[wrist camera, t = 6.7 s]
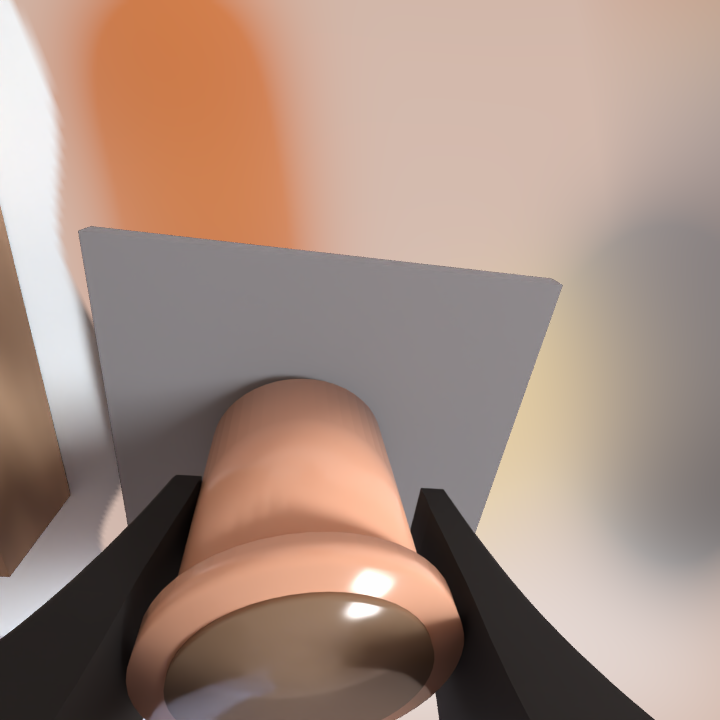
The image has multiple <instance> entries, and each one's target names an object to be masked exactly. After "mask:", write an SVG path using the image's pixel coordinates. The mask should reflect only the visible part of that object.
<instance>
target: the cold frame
mask: <svg viewBox="0 0 720 720" xmlns="http://www.w3.org/2000/svg"><path fill="white" fill-rule="evenodd" d="M69 496H70V491H69V487H68V483H67V479H66V474H65V470H64V466H63V462H62V458H61V454H60V450H59V446H58V442H57V437H56V433H55V429H54V425H53V421H52V417H51V413H50V409H49V404H48V400H47V396H46V392H45V388H44V384H43V380H42V376H41V372H40V367H39V363H38V359H37V355H36V351H35V347H34V343H33V339H32V335H31V330H30V326H29V322H28V318H27V314H26V310H25V306H24V302H23V298H22V293H21V289H20V285H19V281H18V277H17V273H16V269H15V265H14V261H13V256H12V252H11V248H10V244H9V240H8V236H7V232H6V228H5V223H4V219H3V215H2V211H1V207H0V577H10V576H11V574H12V573H13V572H14V570H15V569H16V568H17V566H18V565H19V564H20V562H21V561H22V560H23V558H24V557H25V556H26V554H27V553H28V552H29V550H30V549H31V548H32V546H33V545H34V543H35V542H36V541H37V539H38V538H39V537H40V535H41V534H42V533H43V531H44V530H45V529H46V527H47V526H48V525H49V523H50V522H51V521H52V519H53V518H54V517H55V515H56V514H57V513H58V511H59V510H60V509H61V507H62V506H63V504H64V503H65V502H66V500H67V499H68V498H69Z"/></svg>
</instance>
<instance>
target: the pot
mask: <svg viewBox="0 0 720 720" xmlns="http://www.w3.org/2000/svg"><path fill="white" fill-rule="evenodd" d="M463 646H464V631H463V627H462V622H461V619H460V616H459V614H458V611H457V608H456V605H455V602H454V599H453V596H452V594H451V591H450V588H449V586H448V584H447V582H446V580H445V578H444V577H443V576H442V574H441V573H440V572H439V571H438V569H437V568H436V567H435V566H433V565H432V564H431V563H430V562H429V561H428V560H427V559H425V558H424V557H422V556H421V555H419V554H417V552H416V548H415V545H414V542H413V538H412V535H411V532H410V528H409V525H408V522H407V518H406V515H405V512H404V508H403V505H402V502H401V498H400V495H399V492H398V488H397V485H396V482H395V478H394V475H393V472H392V468H391V465H390V462H389V458H388V455H387V452H386V448H385V445H384V442H383V438H382V435H381V432H380V428H379V425H378V422H377V420H376V418H375V416H374V414H373V413H372V411H371V410H370V408H369V407H368V406H367V405H366V404H365V403H364V402H363V401H362V400H361V399H360V398H359V397H357V396H356V395H355V394H353V393H352V392H350V391H348V390H347V389H345V388H342V387H340V386H338V385H335V384H332V383H329V382H325V381H320V380H314V379H288V380H282V381H276V382H273V383H269V384H266V385H263V386H261V387H258V388H256V389H254V390H252V391H250V392H249V393H247V394H245V395H243V396H242V397H241V398H239V399H238V400H237V401H235V402H234V403H233V404H232V405H231V406H230V407H229V408H228V409H227V411H226V412H225V413H224V415H223V416H222V417H221V419H220V421H219V423H218V425H217V427H216V430H215V433H214V436H213V440H212V443H211V447H210V451H209V455H208V459H207V463H206V467H205V471H204V475H203V479H202V483H201V487H200V491H199V495H198V499H197V503H196V507H195V510H194V514H193V518H192V522H191V526H190V530H189V534H188V538H187V542H186V546H185V550H184V554H183V558H182V562H181V566H180V570H179V573H178V577H176V578H175V579H174V580H173V581H172V582H171V583H170V584H168V585H167V586H166V587H165V588H164V589H163V590H162V591H161V592H160V593H159V594H158V596H157V597H156V598H155V599H154V600H153V601H152V603H151V604H150V606H149V608H148V609H147V611H146V613H145V614H144V616H143V619H142V622H141V625H140V628H139V631H138V634H137V637H136V641H135V644H134V647H133V651H132V654H131V657H130V660H129V664H128V667H127V673H126V686H127V691H128V695H129V698H130V700H131V702H132V704H133V706H134V707H135V709H136V710H137V711H138V712H139V714H140V715H141V716H142V717H143V718H144V719H145V720H396V719H398V718H399V717H401V716H403V715H405V714H407V713H408V712H410V711H411V710H413V709H415V708H416V707H418V706H419V705H420V704H422V703H423V702H424V701H426V700H427V699H428V698H430V697H431V696H432V695H433V694H434V693H435V692H436V691H437V690H438V689H440V687H441V686H442V685H443V684H444V683H445V682H446V681H447V680H448V678H449V677H450V675H451V674H452V673H453V671H454V670H455V668H456V666H457V664H458V662H459V659H460V657H461V654H462V650H463Z"/></svg>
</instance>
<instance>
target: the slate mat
mask: <svg viewBox="0 0 720 720" xmlns="http://www.w3.org/2000/svg"><path fill="white" fill-rule="evenodd" d="M78 233H79V239H80V244H81V251H82V256H83V263H84V269H85V274H86V281H87V287H88V292H89V298H90V304H91V310H92V316H93V322H94V328H95V334H96V340H97V346H98V352H99V358H100V364H101V370H102V375H103V381H104V387H105V393H106V399H107V405H108V411H109V417H110V423H111V429H112V435H113V441H114V447H115V453H116V458H117V464H118V470H119V476H120V482H121V488H122V494H123V500H124V505H125V511H126V517H127V524H128V525H129V524H130V523H131V522H132V521H133V520H134V519H135V518H136V517H137V516H138V515H139V514H140V513H141V512H142V511H143V510H144V509H145V507H146V506H147V505H148V504H149V503H150V502H151V501H152V500H153V499H154V498H155V497H156V495H157V494H158V493H159V492H160V491H161V490H162V489H163V488H164V486H165V485H166V484H167V483H168V482H169V481H170V480H171V478H173V477H174V476H175V475H192V476H202V479H203V475H204V471H205V467H206V463H207V459H208V455H209V451H210V447H211V443H212V440H213V436H214V433H215V430H216V427H217V425H218V423H219V421H220V419H221V417H222V416H223V415H224V413H225V412H226V411H227V409H228V408H229V407H230V406H231V405H232V404H233V403H234V402H235V401H237V400H238V399H239V398H241V397H242V396H243V395H245V394H247V393H249V392H250V391H252V390H254V389H256V388H258V387H261V386H263V385H266V384H269V383H273V382H276V381H282V380H288V379H314V380H320V381H325V382H329V383H332V384H335V385H338V386H340V387H342V388H345V389H347V390H348V391H350V392H352V393H353V394H355V395H356V396H357V397H359V398H360V399H361V400H362V401H363V402H364V403H365V404H366V405H367V406H368V407H369V408H370V410H371V411H372V413H373V414H374V416H375V418H376V420H377V422H378V425H379V428H380V432H381V435H382V438H383V442H384V445H385V448H386V452H387V455H388V458H389V462H390V465H391V468H392V472H393V475H394V478H395V482H396V485H397V488H398V492H399V495H400V498H401V502H402V505H403V508H404V512H405V515H406V518H407V522H408V525H409V528H410V529H411V525H412V521H413V517H414V513H415V509H416V505H417V501H418V497H419V493H420V489H421V488H433V489H444V491H445V492H446V493H447V495H448V496H449V497H450V499H451V500H452V502H453V503H454V505H455V506H456V507H457V509H458V510H459V512H460V513H461V515H462V516H463V517H464V519H465V520H466V522H467V523H468V524H469V526H470V527H471V529H472V530H473V531H474V533H475V532H476V529H477V526H478V523H479V521H480V518H481V515H482V512H483V509H484V506H485V503H486V501H487V498H488V495H489V492H490V489H491V487H492V483H493V481H494V478H495V475H496V472H497V470H498V467H499V464H500V461H501V458H502V455H503V452H504V450H505V447H506V444H507V441H508V439H509V436H510V433H511V430H512V427H513V424H514V421H515V419H516V416H517V413H518V410H519V407H520V405H521V402H522V399H523V396H524V393H525V390H526V388H527V385H528V381H529V379H530V376H531V373H532V371H533V368H534V365H535V362H536V359H537V356H538V353H539V350H540V348H541V345H542V342H543V339H544V337H545V334H546V331H547V328H548V325H549V323H550V320H551V317H552V314H553V311H554V308H555V306H556V302H557V300H558V297H559V294H560V291H561V289H562V286H563V285H562V284H560V283H558V282H557V281H555V280H553V279H551V278H542V277H533V276H524V275H515V274H507V273H498V272H488V271H480V270H472V269H462V268H454V267H445V266H436V265H428V264H418V263H410V262H401V261H392V260H383V259H375V258H366V257H357V256H349V255H340V254H331V253H322V252H312V251H305V250H295V249H287V248H278V247H269V246H261V245H252V244H243V243H234V242H226V241H216V240H207V239H198V238H190V237H181V236H173V235H164V234H154V233H146V232H138V231H129V230H120V229H111V228H102V227H94V226H90V227H87V228H85V229H82V230H79V231H78Z"/></svg>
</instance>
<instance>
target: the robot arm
mask: <svg viewBox="0 0 720 720" xmlns="http://www.w3.org/2000/svg"><path fill="white" fill-rule="evenodd" d="M201 483H202V476H192V475H175V476H174V477H173V478H171V480H170V481H169V482H168V483H167V484H166V485H165V486H164V488H163V489H162V490H161V491H160V492H159V493H158V494H157V495H156V497H155V498H154V499H153V500H152V501H151V502H150V503H149V504H148V505H147V506H146V507H145V509H144V510H143V511H142V512H141V513H140V514H139V515H138V516H137V517H136V518H135V519H134V520H133V521H132V522H131V523H130V524H129V525H128V526H127V527H126V529H124V530H123V531H122V533H121V534H120V535H119V536H118V537H117V538H116V539H115V540H114V541H113V542H112V543H111V544H110V545H109V546H108V547H107V548H106V549H105V550H104V551H103V552H101V553H100V554H99V555H98V556H97V557H96V558H95V559H94V560H93V561H92V562H91V563H90V564H89V565H88V566H86V567H85V568H84V569H83V570H82V571H81V572H80V573H79V574H78V575H77V576H76V577H75V578H74V579H73V580H71V581H70V582H69V583H68V584H67V585H66V586H65V587H64V588H62V589H61V590H60V591H59V592H58V593H57V594H56V595H54V596H53V597H52V598H51V599H50V600H49V601H47V602H46V603H45V604H44V605H43V606H41V607H40V608H39V609H38V610H37V611H35V612H34V613H33V614H32V615H31V616H29V617H28V618H27V619H26V620H25V621H23V622H22V623H21V624H20V625H18V626H17V627H16V628H15V629H13V630H12V631H11V632H9V633H8V634H7V635H5V636H4V637H3V638H2V639H0V720H145V719H144V718H143V717H142V716H141V715H140V714H139V712H138V711H137V710H136V709H135V707H134V706H133V704H132V702H131V700H130V698H129V695H128V691H127V686H126V673H127V667H128V664H129V660H130V657H131V654H132V651H133V647H134V644H135V641H136V637H137V634H138V631H139V628H140V625H141V622H142V619H143V616H144V614H145V613H146V611H147V609H148V608H149V606H150V604H151V603H152V601H153V600H154V599H155V598H156V597H157V596H158V594H159V593H160V592H161V591H162V590H163V589H164V588H165V587H166V586H167V585H168V584H170V583H171V582H172V581H173V580H174V579H175V578H176V577H178V573H179V570H180V566H181V562H182V558H183V554H184V550H185V546H186V542H187V538H188V534H189V530H190V526H191V522H192V518H193V514H194V510H195V507H196V503H197V499H198V495H199V491H200V487H201ZM410 532H411V535H412V538H413V542H414V545H415V548H416V552H417V554H419V555H421V556H422V557H424V558H425V559H427V560H428V561H429V562H430V563H431V564H432V565H433V566H435V567H436V568H437V569H438V571H439V572H440V573H441V574H442V576H443V577H444V578H445V580H446V582H447V584H448V586H449V588H450V591H451V594H452V596H453V599H454V602H455V605H456V608H457V611H458V614H459V616H460V619H461V622H462V627H463V631H464V646H463V650H462V654H461V657H460V659H459V662H458V664H457V666H456V668H455V670H454V671H453V673H452V674H451V675H450V677H449V678H448V680H447V681H446V682H445V683H444V684H443V685H442V686H441V687H440V689H438V690H437V691H436V692H435V693H436V699H437V706H438V713H439V720H654V719H653V718H652V717H651V716H650V715H648V714H647V713H646V712H645V711H644V710H642V709H641V708H640V707H639V706H638V705H636V704H635V703H634V702H633V701H632V700H631V699H629V698H628V697H627V696H626V695H625V694H624V693H622V692H621V691H620V690H619V689H618V688H617V687H616V686H615V685H613V684H612V683H611V682H610V681H609V680H608V679H607V678H606V677H605V676H604V675H603V674H601V673H600V672H599V671H598V670H597V669H596V668H595V667H594V666H593V665H592V664H591V663H590V662H589V661H587V660H586V659H585V658H584V657H583V656H582V655H581V654H580V653H579V652H578V651H577V650H576V649H575V648H573V646H571V644H570V643H569V642H568V641H567V640H566V639H565V638H564V637H562V635H561V634H560V633H559V632H558V631H557V630H556V629H555V628H554V627H553V626H552V625H551V624H550V623H549V622H548V621H547V620H546V619H545V618H544V617H543V616H542V615H541V614H540V613H539V611H538V610H537V609H536V608H535V607H534V606H533V605H532V604H531V602H530V601H529V600H528V599H527V598H526V597H525V596H524V595H523V593H522V592H521V591H520V590H519V589H518V588H517V586H516V585H515V584H514V583H513V582H512V580H511V579H510V578H509V577H508V575H507V574H506V573H505V572H504V570H503V569H502V568H501V567H500V566H499V564H498V563H497V562H496V560H495V559H494V558H493V556H492V555H491V554H490V553H489V551H488V550H487V549H486V547H485V546H484V545H483V543H482V542H481V541H480V540H479V538H478V537H477V536H476V534H475V533H474V531H473V530H472V529H471V527H470V526H469V524H468V523H467V522H466V520H465V519H464V517H463V516H462V515H461V513H460V512H459V510H458V509H457V507H456V506H455V505H454V503H453V502H452V500H451V499H450V497H449V496H448V495H447V493H446V492H445V491H444V489H433V488H421V489H420V493H419V497H418V501H417V505H416V509H415V513H414V517H413V521H412V525H411V529H410Z"/></svg>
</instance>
